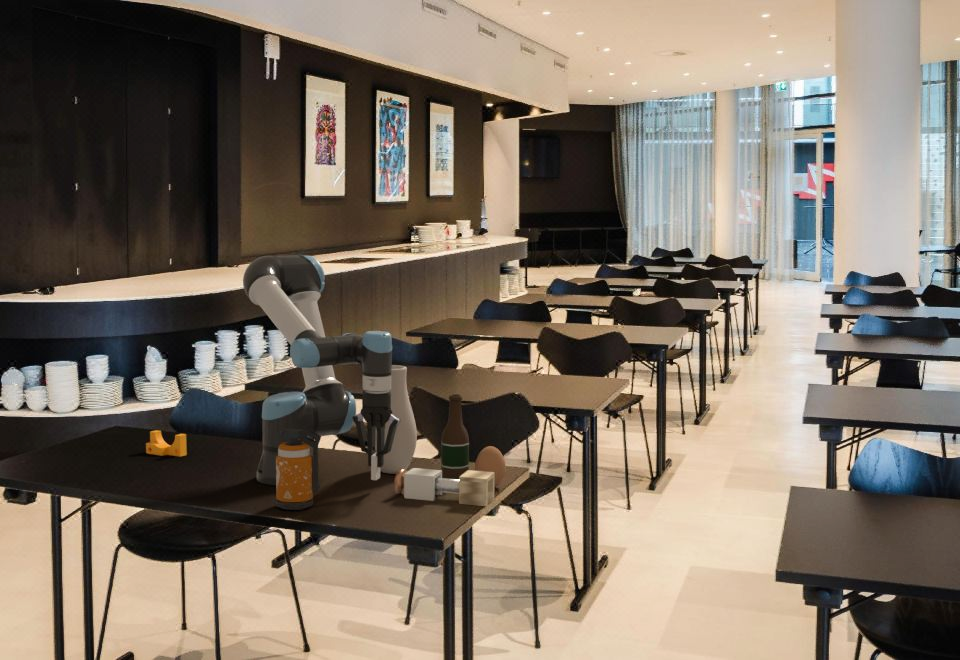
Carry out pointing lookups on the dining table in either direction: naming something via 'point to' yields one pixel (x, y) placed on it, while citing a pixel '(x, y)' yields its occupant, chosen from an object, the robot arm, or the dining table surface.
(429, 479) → the sleeve
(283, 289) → the robot arm
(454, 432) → the beer bottle
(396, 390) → the vase
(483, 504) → the socket
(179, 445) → the pipe clamp
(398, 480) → the bolt
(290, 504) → the canister
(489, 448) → the egg
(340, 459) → the dining table surface
